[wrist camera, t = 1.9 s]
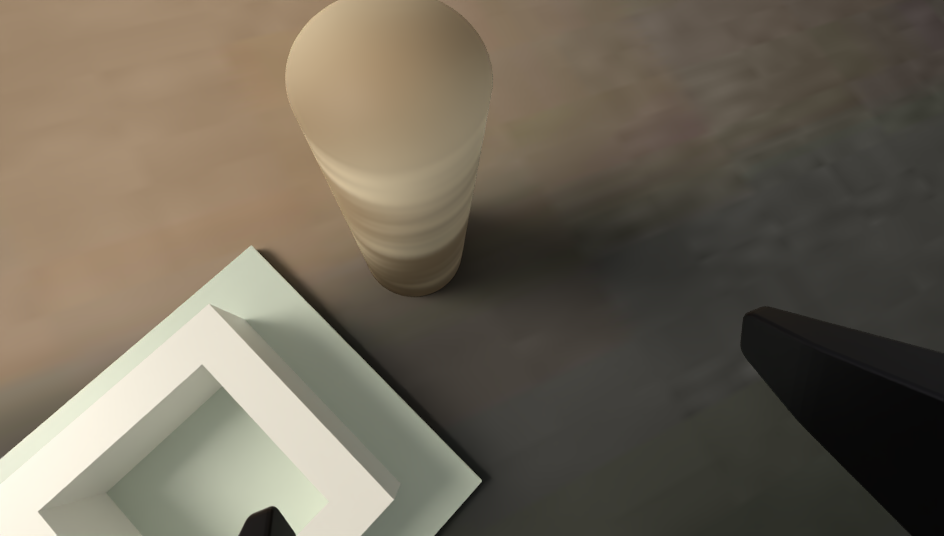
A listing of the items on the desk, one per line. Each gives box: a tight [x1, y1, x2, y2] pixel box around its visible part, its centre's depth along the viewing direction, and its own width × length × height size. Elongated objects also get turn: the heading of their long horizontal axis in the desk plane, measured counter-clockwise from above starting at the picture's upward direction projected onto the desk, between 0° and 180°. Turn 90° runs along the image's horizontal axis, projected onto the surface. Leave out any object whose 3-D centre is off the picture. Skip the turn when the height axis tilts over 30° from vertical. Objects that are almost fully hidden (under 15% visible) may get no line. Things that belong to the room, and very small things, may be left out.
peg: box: [285, 0, 493, 297], centre depth 17 cm, size 4×4×13 cm
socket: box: [0, 246, 482, 536], centre depth 18 cm, size 14×14×4 cm
